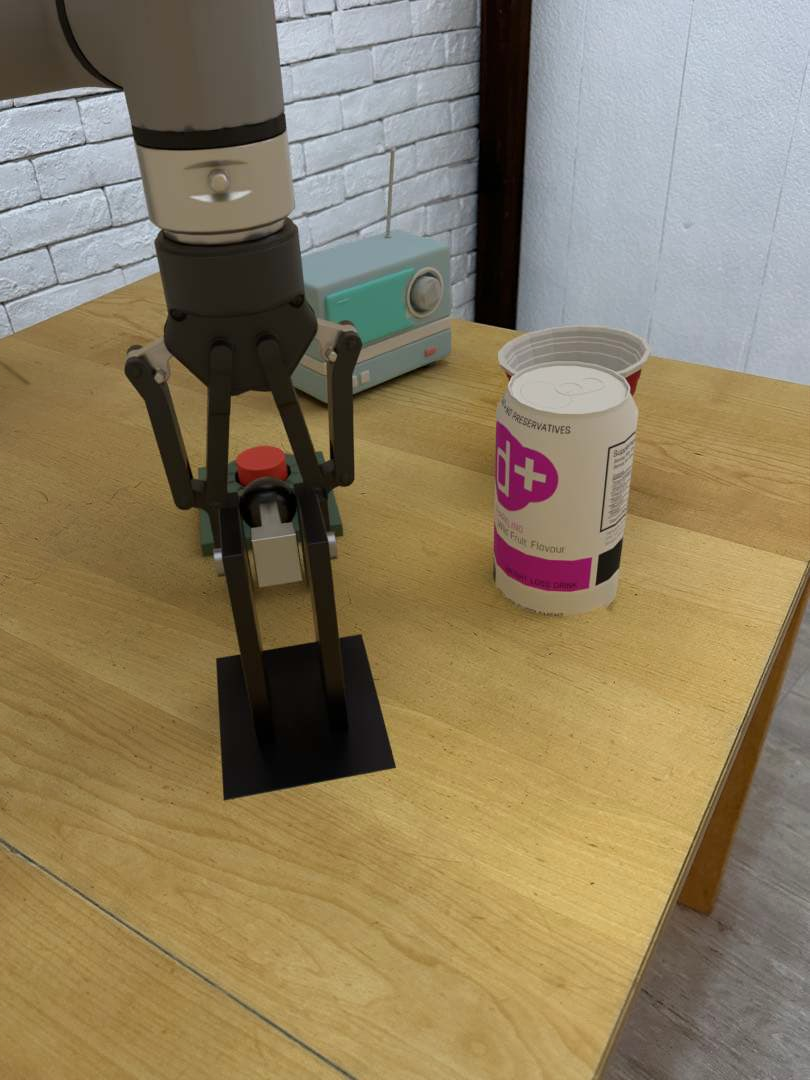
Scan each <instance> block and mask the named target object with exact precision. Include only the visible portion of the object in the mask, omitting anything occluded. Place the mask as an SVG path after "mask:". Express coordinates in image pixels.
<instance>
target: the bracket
mask: <svg viewBox="0 0 810 1080" xmlns="http://www.w3.org/2000/svg"><path fill="white" fill-rule="evenodd" d="M298 503H299V511H300V519H301V527H302V535H303V543H304V550H305V558H306V566H307V574H308V582H309V588H308V590H309V596H310V597H309V598H310V604H311V612H312V620H313V626H314V627H313V628H314V635H315V641H311V642H305V643H300V644H299V643H298V644H294V645H287V646H281V647H276V648H275V647H274V648H269V649H264V646H263V641H262V635H261V629H260V623H259V617H258V611H257V606H256V601H255V593H254V594H253V589H254V587H253V588H252V582H251V576H250V571H249V565H248V559H247V553H246V548H245V542H244V536H243V530H242V525H241V519H240V513H239V507H238V506H231V507H224V508H219V509H218V511H219V525H220V540H221V548H218V549H214V550H213V555H212V556H213V563H214V569H215V574H216V577H217V578H222V577H223V578H224V577H225V581H226V586H227V593H228V598H229V603H230V607H231V612H232V618H233V623H234V628H235V634H236V638H237V643H238V644H237V645H238V649H239V654H234V655H228V656H222V657H216V658H215V664H216V666H215V667H216V681H217V682H216V683H217V684H216V685H217V703H218V717H219V718H218V723H219V734H220V735H219V739H220V757H221V759H220V760H221V777H222V795H223V797H222V798H223V801H224V802H225V801H229V800H235V799H240V798H246V797H249V796H250V797H252V796H257V795H261V794H267V793H272V792H278V791H283V790H289V789H293V788H298V787H303V786H304V787H305V786H309V785H315V784H320V783H324V782H330V781H336V780H342V779H346V778H350V777H357V776H361V775H366V774H372V773H377V772H382V771H388V770H393V769H397V764H396V761H395V757H394V754H393V750H392V747H391V741H390V739H389V734H388V731H387V727H386V723H385V719H384V715H383V711H382V708H381V703H380V699H379V696H378V695H379V694H378V692H377V687H376V685H375V680H374V676H373V673H372V668H371V664H370V662H369V657H368V654H367V649H366V645H365V642H364V639H363V634H362V633H359V634H353V635H348V636H341V637H340V633H339V625H338V624H339V623H338V615H337V605H336V595H335V587H334V578H333V568H332V561H333V560H338V559H339V552H338V551H339V550H338V544H337V538H336V537H335V533H334V532H333V531H332V532H326V529H325V525H324V520H323V516H322V512H321V508H320V504H319V500H318V496H317V494H314V495H307V496H300V497H298Z"/></svg>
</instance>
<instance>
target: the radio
mask: <svg viewBox="0 0 810 1080" xmlns="http://www.w3.org/2000/svg"><path fill="white" fill-rule="evenodd" d="M396 147H397V146H393V147H391V149H389V151H390V158H389V159H390V160H389V176H388V191H387V192H388V195H387V209H386V210H387V211H386V225H385V227H386V228H385V232H381V233H379V234H375V235H372V236H368V237H365V238H361V239H358V240H354V241H351V242H348V243H345V244H341V245H337V246H334V247H330V248H328V249H324V250H320V251H317V252H314V253H313V252H312V253H310V254H306V255H304V256H301V259H302V269H303V278H304V287H305V295H306V299H307V301H308V303H309V304H310V306H311V307H312V308H313V310H314V312H315V316H316V318H319V319H323V320H326V321H330V322H333V323H337V324H338V323H339V322H341V321H343V320H349V321H351V322H353V324H354V325H355V327H356V329H357V332H358V334H359V336H360V338H361V341H362V349H361V352H360V354H359V357H358V360H357V363H356V366H355V369H354V371H353V374H352V378H353V395H356V394H357V393H360V392H362V391H365V390H368V389H370V388H373V387H375V386H377V385H381V384H382V383H384V382H385V383H386V382H387V381H390V380H392V379H394V378H397V377H400V376H402V375H405V374H406V373H409V372H412V371H414V370H417V369H418V368H421V367H429V368H430V367H432V366H434V365H436V364H437V363H436V361H438V360H441V359H444V358H446V357H448V356H450V354H452V329H451V328H452V316H451V314H452V292H451V291H452V279H451V277H452V275H451V271H452V270H451V269H452V268H451V246H450V245H449V244H448V243H445V242H442V241H438V240H434V239H431V238H427V237H425V236H422V235H418V234H414V233H412V232H409V231H404V230H401V229H392V230H391V220H392V219H391V218H392V203H393V187H394V172H395V171H394V170H395V155H396V154H395V153H396V152H397V149H396ZM326 366H327V361H325V360H324V359H323V358H322V356H321V353H320V350H319V342H317V341H316V340H314V339H313V341H312V342H311V344H310V346H309V347H308V349H307V351H306V352H305V354H304V356H303V357H302V359H301V361H300V362H299V364H298V366H297V368H296V369H295V371H294V373H293V374H292V376H291V379H292V382H293V386H294V388H296V389H297V390H299V391H301V392H304V393H306V394H308V395H310V396H312V397H313V398H315V399H317V400H319V401H320V402H323V403H325V404H328V394H327V368H326Z"/></svg>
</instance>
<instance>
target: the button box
mask: <svg viewBox="0 0 810 1080" xmlns="http://www.w3.org/2000/svg"><path fill="white" fill-rule="evenodd" d="M315 452H316V455H317V458H318V461H319V464H322V463H324V462H326V460H325V456H324V453H323V450H319V451H318V450H317V451H315ZM284 453H285V458H286V466H287V473H288V476H287V479H286V481H284V482H285V483H286V484H288V486H289V487H290V488H291V489H292V491H293V492H294V486H293V484H295V483H302V482H303V479H302V476H301V474H300V471H299V468H298V465H297V462H296V459H295V456H294V454H291V453H286V452H284ZM197 479H198V480H204V481H206V466H200V467H198V468H197ZM244 489H245V487H243V486H242V485H241V484H240V481H239V476H238V470H237V464H236V459H235V460H231V461H230V462H228V480H227V493H231V492H238V497H239V502H240V497H241V494H242V492H243V490H244ZM294 495H295V493H294ZM327 502H328V511H329V520H330V529H331V530H330V532H332V531H333V532H334V533H335V538H336V537H342V536H344V527H343V522H342V517H341V515H340V511H339V507H338V504H337V500H336V497H335V493H334V489H333V490H331V491H330V492H329V494H328V501H327ZM242 520H243V518H242ZM291 522H293V523H294V527H295V531H296V534H297V540H298V543H301V539H300V531H299V523H298V516H297V508H296V513H295V516H294V518H293V520H292V521H291ZM199 526H200V527H199V532H200V533H199V535H200V547H201V551H202V556H203V557H209V556H213V550H214V549H216V548H215V545H214V540H213V535H212V530H211V525H210V520H209V516H208V514H207V512H205V511H204V510H202V509H199ZM243 526H244V532H245V538H246V543H247V549H248V551H250V550H252V546H251V535H250V529H251V527H249V526H248V525H247V524H246V523H245V521H244V520H243Z"/></svg>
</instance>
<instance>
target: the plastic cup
mask: <svg viewBox="0 0 810 1080" xmlns="http://www.w3.org/2000/svg"><path fill="white" fill-rule="evenodd" d="M652 351H653V349H652V348H651V346H650V344H649V343H648V341H647V339H646V338H644V337H641V336H640V335H638V334H635V333H634V332H633V331H630V330H625V329H620V328H615V327H611V326H607V325H588V324H586V325H585V324H575V325H565V326H553V327H547V328H543V329H538V330H535V331H530V332H526V333H524V334H522V335H520V336H517V337H516V338H513V339H511V340H509V341H507V342H506V343H505V344H504V345H503V346H502V348H501V349H499V350H498V352H497V357H498V364H499V367H500V369H501V370H502V371H504V373H505V374H506V378H508V383H509V382H510V379H511V377H512V376H514V375H515V374H516V373H518V372H519V371H521V370H522V369H525V368H528V367H531V366H534V365H537V364H542V363H549V362H582V363H588V364H595V365H599V366H602V367H605V368H607V369H610V370H613V371H615V372H616V373H618V374H619V375H621V376H622V377H624V378H625V379H626V381H627V382H628V384H629V386H630V393H631V396H632V398H633V397H634V395H635V393H636V390H637V386H638V382H639V380H640V378H641V375H642V370H643V369H644V367H645V366H646V364H647V363H648V360H649V359H650V356H651V355H652V354H651V353H652Z"/></svg>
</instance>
